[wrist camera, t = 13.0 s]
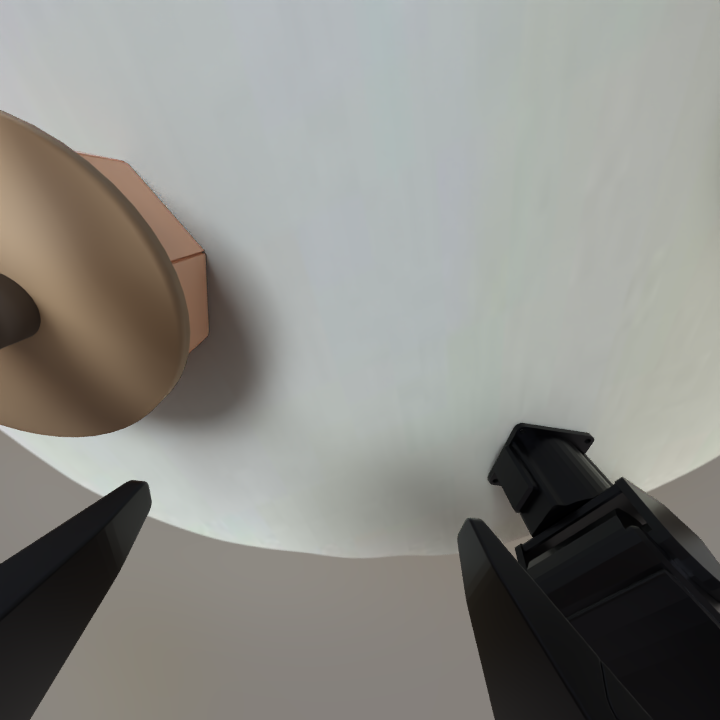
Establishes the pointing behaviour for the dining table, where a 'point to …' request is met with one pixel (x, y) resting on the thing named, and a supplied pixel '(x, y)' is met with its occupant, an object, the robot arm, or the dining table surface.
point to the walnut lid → (80, 295)
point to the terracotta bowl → (165, 240)
